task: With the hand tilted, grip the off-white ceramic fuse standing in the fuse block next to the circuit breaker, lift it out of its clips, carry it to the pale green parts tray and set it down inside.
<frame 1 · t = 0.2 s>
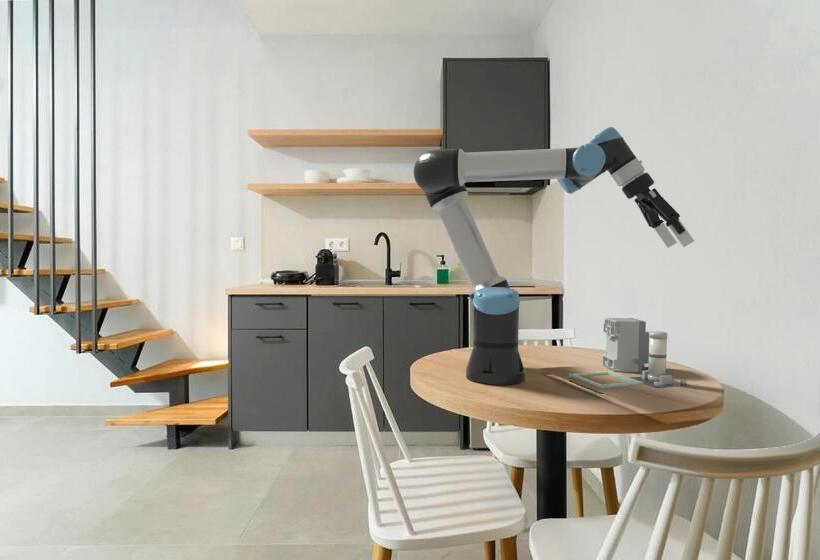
hand: (680, 244, 124), 35 cm above the table, tool tilted 35°, fingers open, 13 cm apart
tray: (604, 385, 115), on the table
fuse block: (656, 387, 115), on the table
circuit breaker: (633, 374, 128), on the table
fuse: (656, 381, 114), point 2 cm above the table, touching fuse block
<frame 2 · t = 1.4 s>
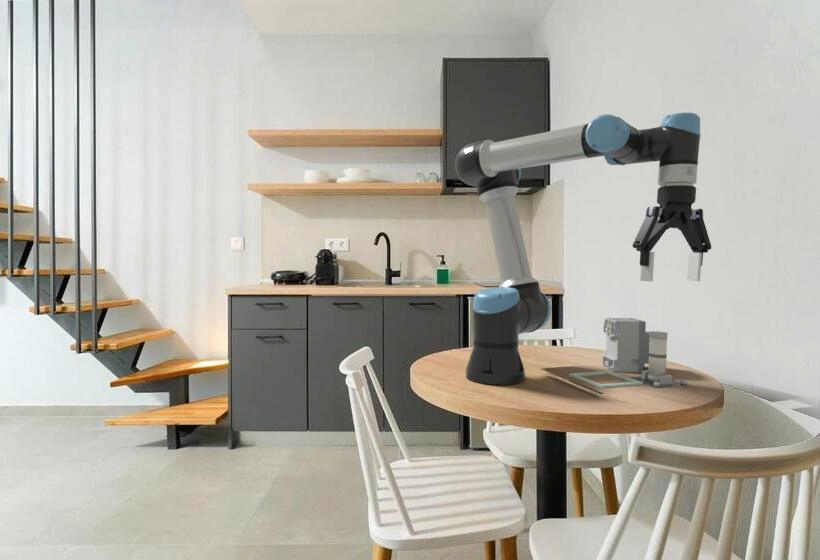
hand: (670, 281, 106), 26 cm above the table, tool pointing down, fingers open, 13 cm apart
nothing on the table moved.
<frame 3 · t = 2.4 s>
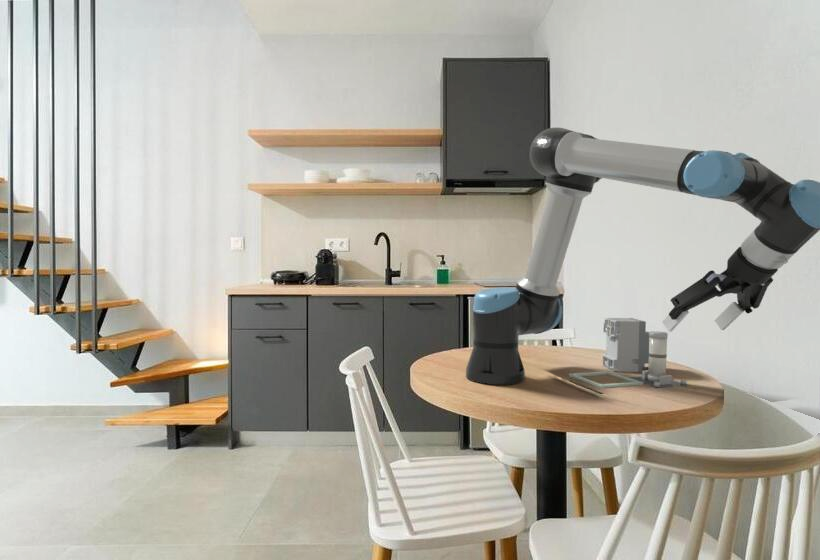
hand: (693, 326, 104), 16 cm above the table, tool tilted 45°, fingers open, 13 cm apart
nothing on the table moved.
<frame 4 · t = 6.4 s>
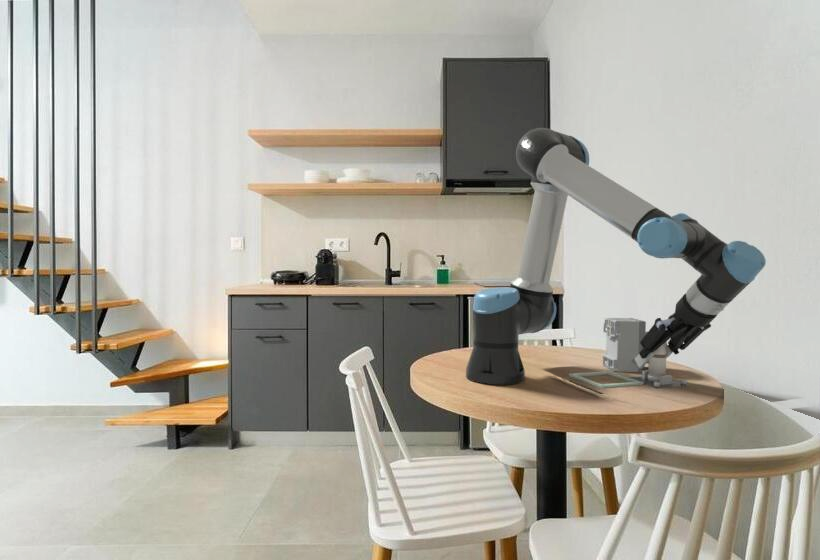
hand: (646, 363, 118), 5 cm above the table, tool tilted 45°, fingers closed on fuse, 4 cm apart
fuse: (656, 381, 114), point 2 cm above the table, touching gripper
everything else where it was.
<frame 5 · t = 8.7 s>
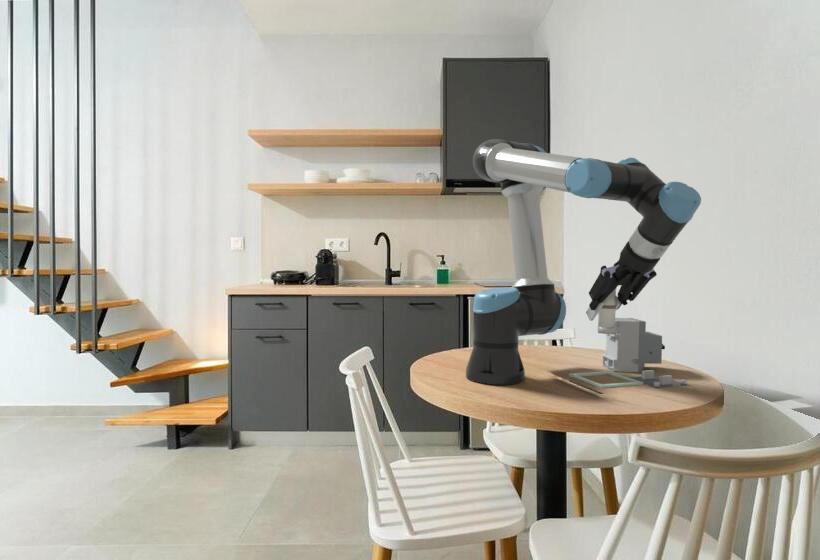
hand: (597, 316, 119), 17 cm above the table, tool tilted 45°, fingers closed on fuse, 4 cm apart
fuse: (606, 332, 115), point 13 cm above the table, touching gripper
everything else where it was.
when the fingers open (6 cm above the table, at t = 11.3 s): fuse drops 1 cm, resting on tray.
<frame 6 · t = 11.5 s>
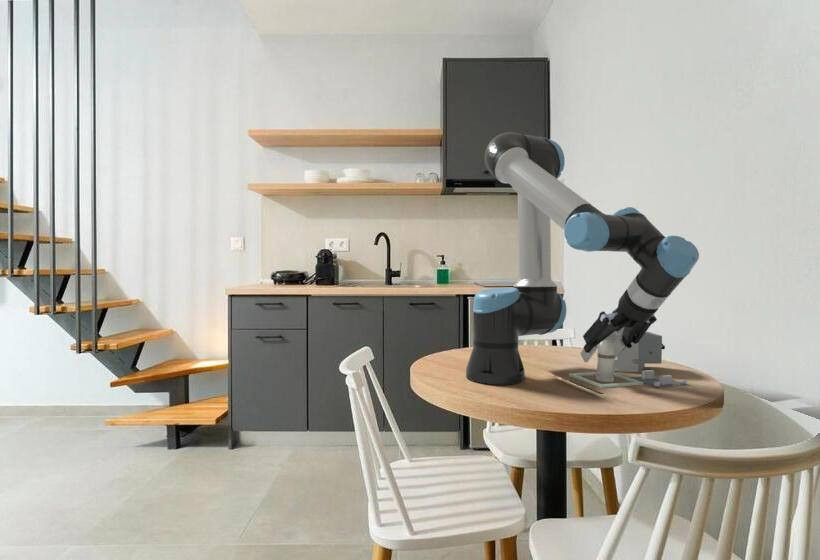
hand: (596, 357, 119), 6 cm above the table, tool tilted 45°, fingers open, 7 cm apart
fuse: (604, 381, 115), point 1 cm above the table, touching tray
everything else where it was.
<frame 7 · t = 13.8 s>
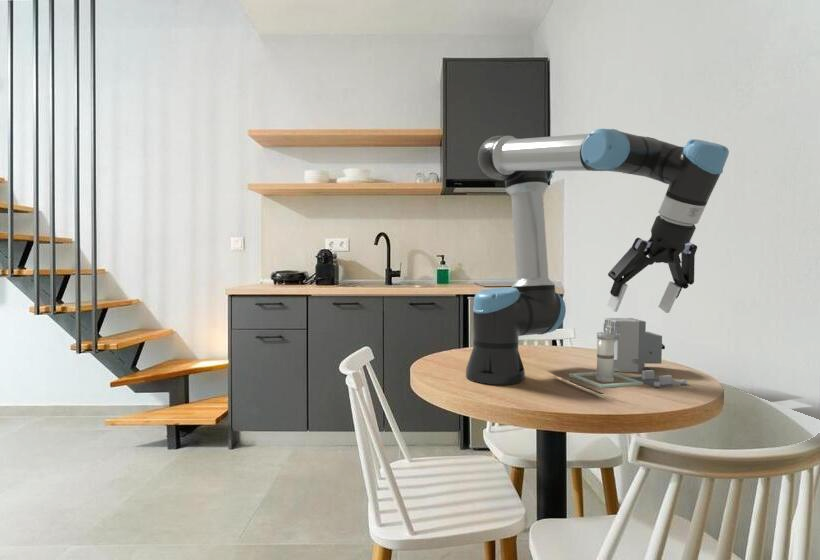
hand: (638, 309, 104), 20 cm above the table, tool tilted 25°, fingers open, 13 cm apart
nothing on the table moved.
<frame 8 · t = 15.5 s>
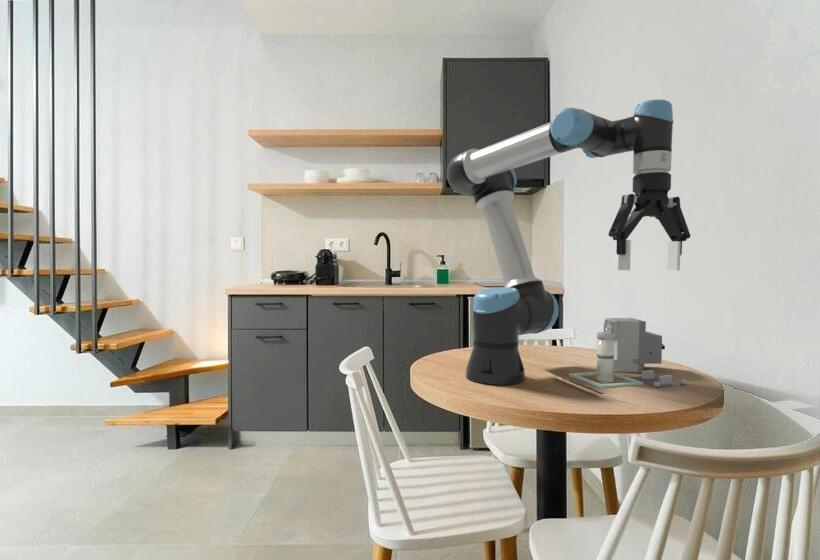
hand: (649, 270, 104), 29 cm above the table, tool pointing down, fingers open, 13 cm apart
nothing on the table moved.
at the end: fuse inside the target area on the tray (0.1 cm from its centre), point 1.0 cm above the tray's base; fuse touching tray; the gripper is holding nothing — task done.
